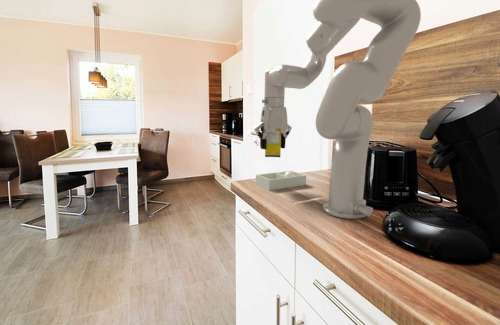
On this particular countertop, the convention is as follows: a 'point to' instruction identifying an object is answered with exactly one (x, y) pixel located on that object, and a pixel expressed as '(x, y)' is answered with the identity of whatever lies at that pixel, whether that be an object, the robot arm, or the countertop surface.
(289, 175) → the egg
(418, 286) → the countertop surface
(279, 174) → the tray
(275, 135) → the supplement box
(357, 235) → the countertop surface
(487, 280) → the countertop surface
